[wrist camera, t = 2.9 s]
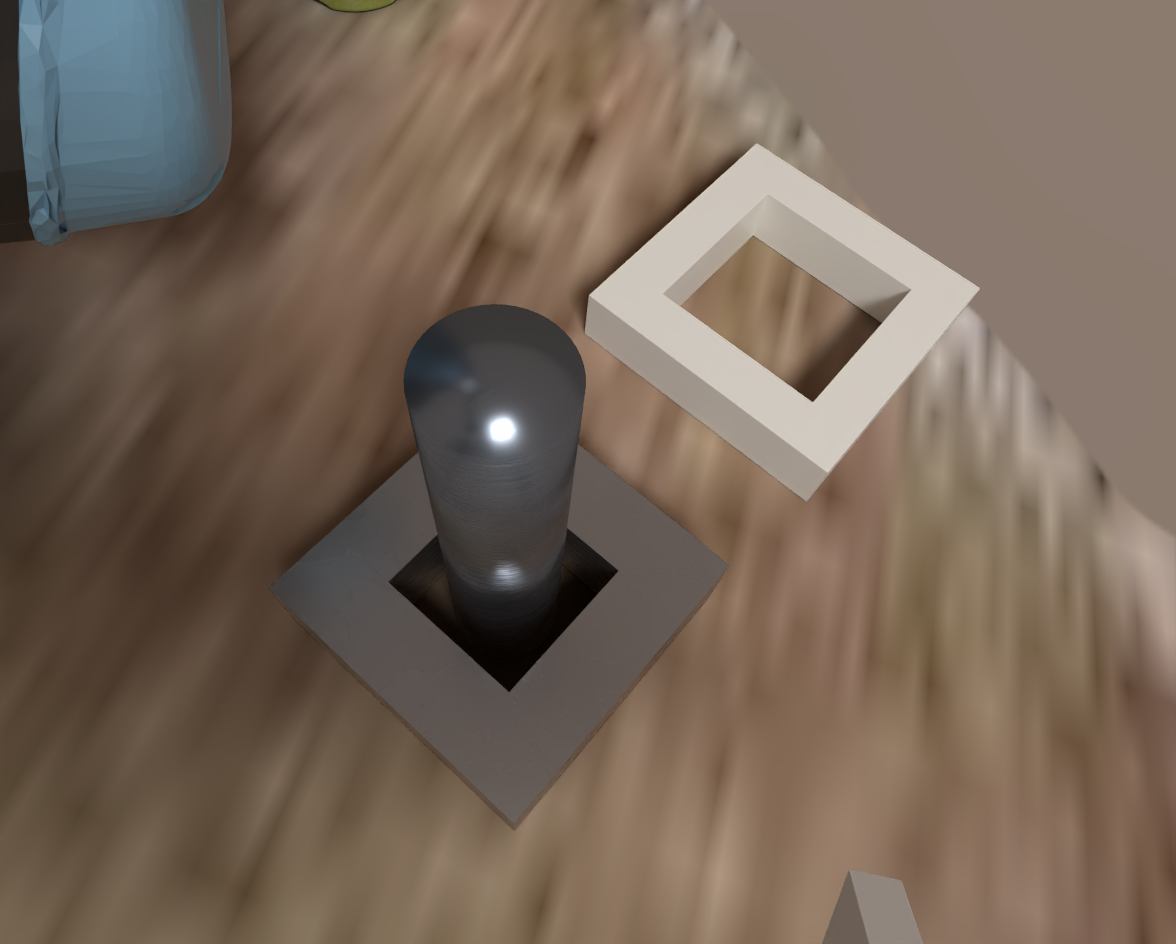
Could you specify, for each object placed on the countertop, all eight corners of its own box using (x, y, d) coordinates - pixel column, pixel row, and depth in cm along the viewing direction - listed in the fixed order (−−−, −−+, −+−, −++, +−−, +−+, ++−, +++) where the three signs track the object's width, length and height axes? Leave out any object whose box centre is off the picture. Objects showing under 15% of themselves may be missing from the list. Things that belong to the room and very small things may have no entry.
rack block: (584, 333, 35) (589, 295, 33) (743, 186, 39) (756, 143, 37) (806, 501, 32) (828, 473, 30) (951, 325, 36) (979, 288, 34)
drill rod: (435, 613, 29) (365, 381, 16) (504, 544, 31) (491, 275, 17) (509, 679, 29) (499, 495, 15) (575, 605, 30) (622, 374, 16)
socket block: (295, 620, 29) (268, 588, 26) (499, 428, 33) (497, 379, 30) (514, 830, 27) (513, 823, 24) (708, 598, 30) (729, 565, 27)
